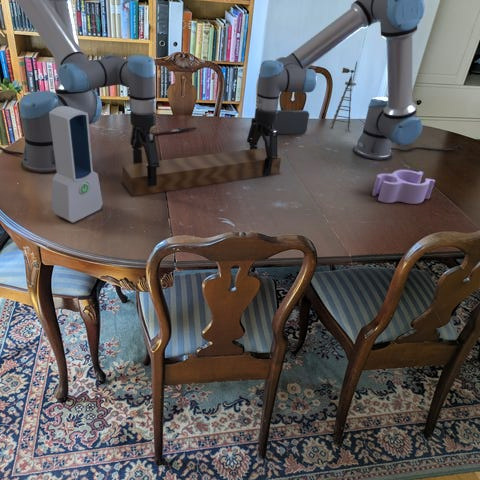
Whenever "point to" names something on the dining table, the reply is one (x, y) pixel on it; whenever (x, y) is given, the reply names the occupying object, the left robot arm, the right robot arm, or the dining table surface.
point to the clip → (402, 187)
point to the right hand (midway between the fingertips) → (259, 168)
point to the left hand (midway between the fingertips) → (144, 176)
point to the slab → (198, 171)
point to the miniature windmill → (345, 97)
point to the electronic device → (73, 165)
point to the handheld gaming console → (291, 121)
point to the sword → (175, 130)
